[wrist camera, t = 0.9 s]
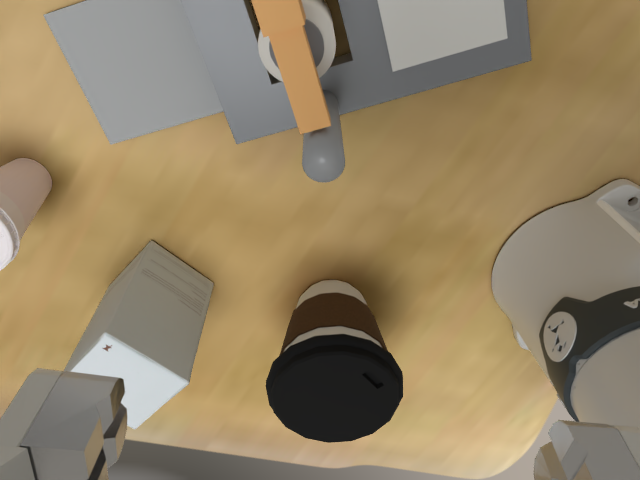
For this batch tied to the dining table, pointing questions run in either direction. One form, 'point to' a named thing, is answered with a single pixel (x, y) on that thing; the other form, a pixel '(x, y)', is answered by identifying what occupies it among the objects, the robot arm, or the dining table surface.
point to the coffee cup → (334, 368)
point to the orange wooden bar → (294, 60)
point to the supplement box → (146, 331)
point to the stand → (356, 62)
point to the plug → (318, 37)
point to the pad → (135, 64)
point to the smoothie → (19, 202)
